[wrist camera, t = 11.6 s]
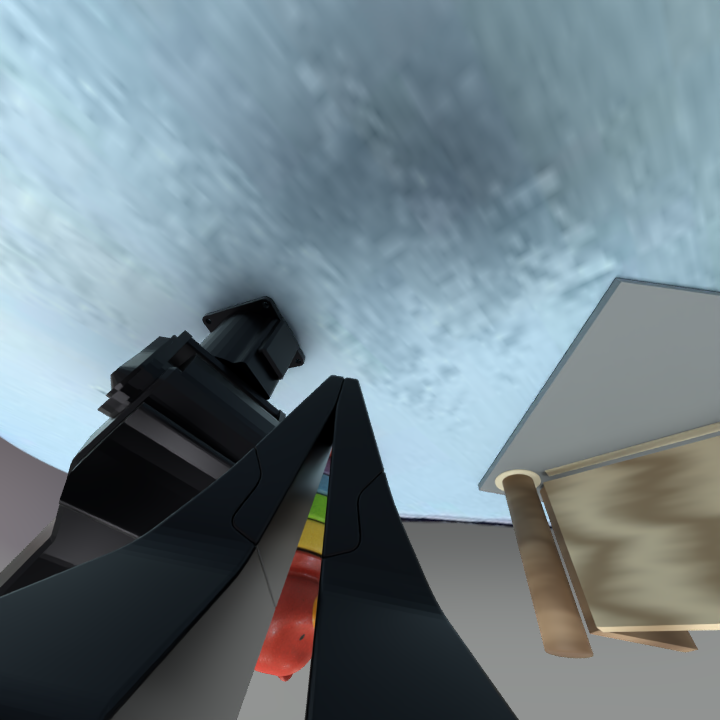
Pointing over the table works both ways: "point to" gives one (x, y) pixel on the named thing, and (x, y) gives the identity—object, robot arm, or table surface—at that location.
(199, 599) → the robot arm
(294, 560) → the stacking bear
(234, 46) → the table surface
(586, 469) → the board
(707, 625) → the folding fence panel
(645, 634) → the fixed fence panel
